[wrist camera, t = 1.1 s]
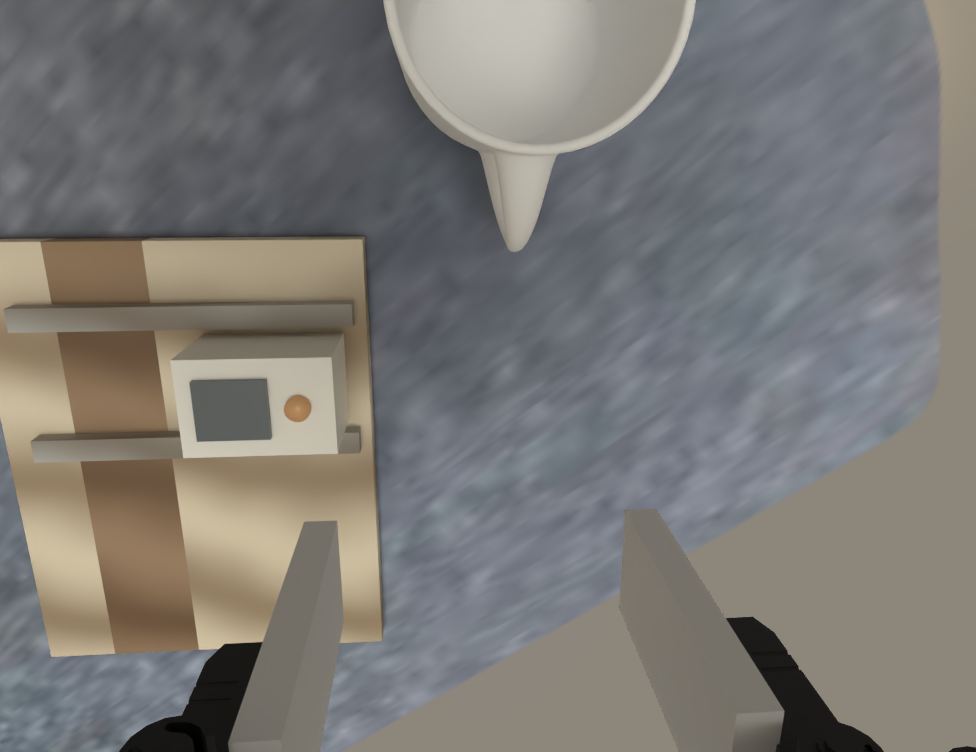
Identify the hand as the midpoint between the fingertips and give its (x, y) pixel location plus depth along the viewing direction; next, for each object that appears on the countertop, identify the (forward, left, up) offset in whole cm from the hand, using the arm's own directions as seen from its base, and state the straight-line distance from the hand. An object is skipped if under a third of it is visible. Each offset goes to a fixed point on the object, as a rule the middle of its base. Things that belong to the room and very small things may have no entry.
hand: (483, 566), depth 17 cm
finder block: (0, -8, -16) cm, 18 cm away
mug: (-12, +2, -17) cm, 21 cm away
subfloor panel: (+4, -12, -17) cm, 21 cm away
